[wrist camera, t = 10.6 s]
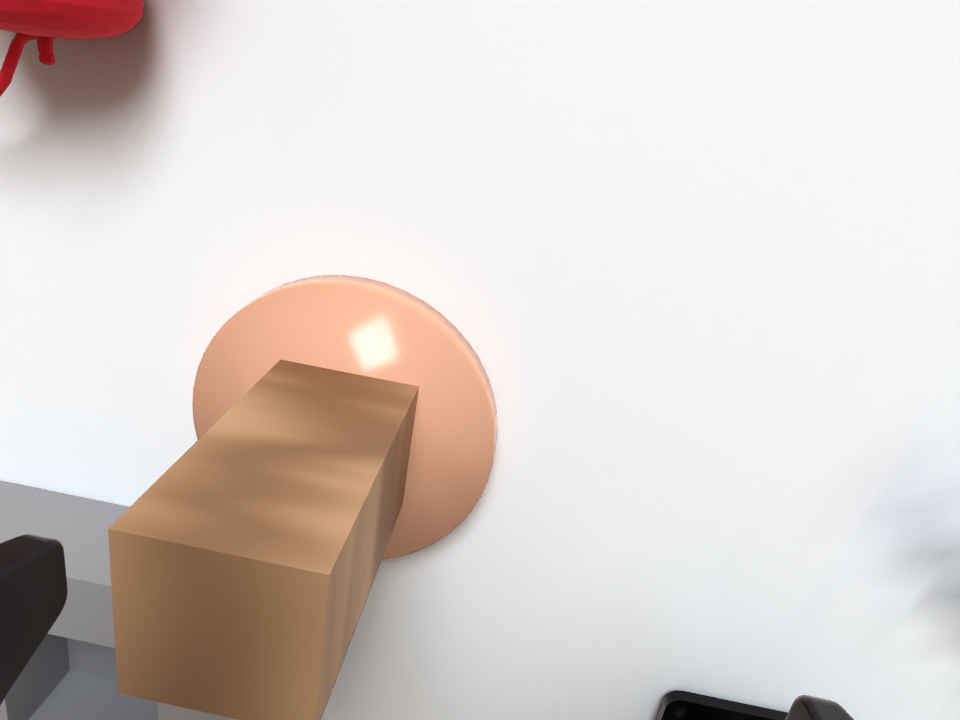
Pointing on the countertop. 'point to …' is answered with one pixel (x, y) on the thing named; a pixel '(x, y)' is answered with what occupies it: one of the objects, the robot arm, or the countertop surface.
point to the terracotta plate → (379, 354)
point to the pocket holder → (75, 617)
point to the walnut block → (262, 547)
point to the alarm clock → (61, 25)
